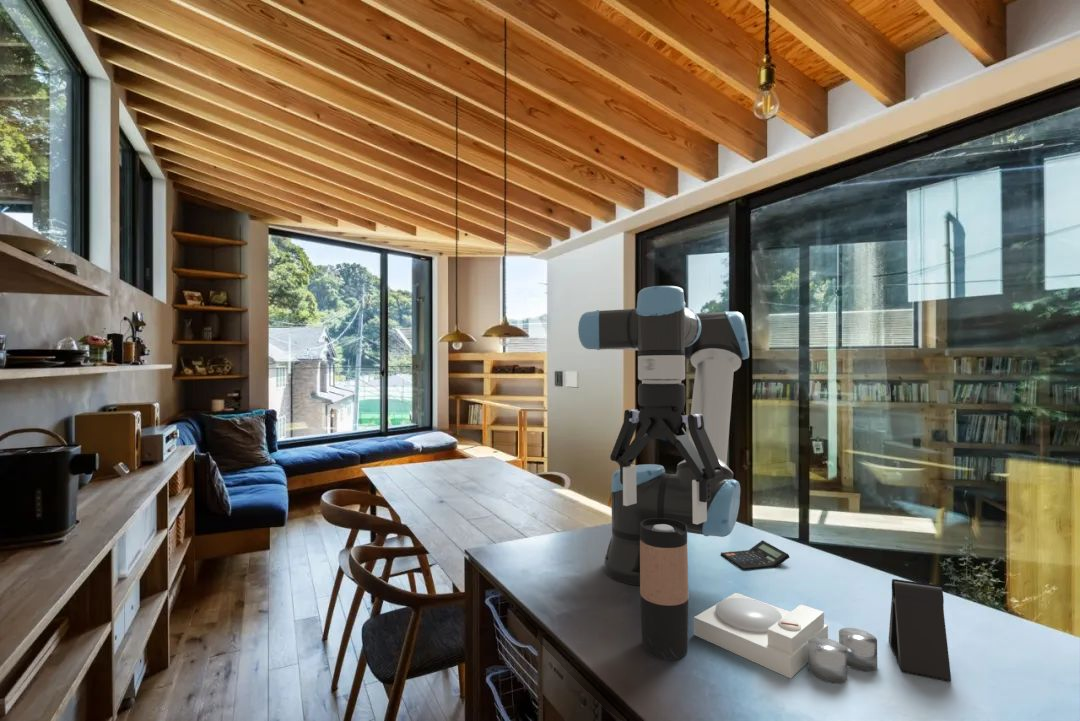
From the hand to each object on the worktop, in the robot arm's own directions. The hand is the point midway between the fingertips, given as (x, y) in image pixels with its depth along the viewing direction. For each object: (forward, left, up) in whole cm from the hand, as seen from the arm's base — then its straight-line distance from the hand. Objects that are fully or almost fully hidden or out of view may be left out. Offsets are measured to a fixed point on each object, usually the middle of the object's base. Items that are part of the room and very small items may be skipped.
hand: (662, 512), depth 83 cm
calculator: (-8, +46, -23) cm, 52 cm away
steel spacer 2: (+22, +19, -22) cm, 37 cm away
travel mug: (0, 0, -22) cm, 22 cm away
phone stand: (+28, +26, -22) cm, 44 cm away
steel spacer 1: (+20, +13, -22) cm, 32 cm away
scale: (+9, +14, -22) cm, 28 cm away
